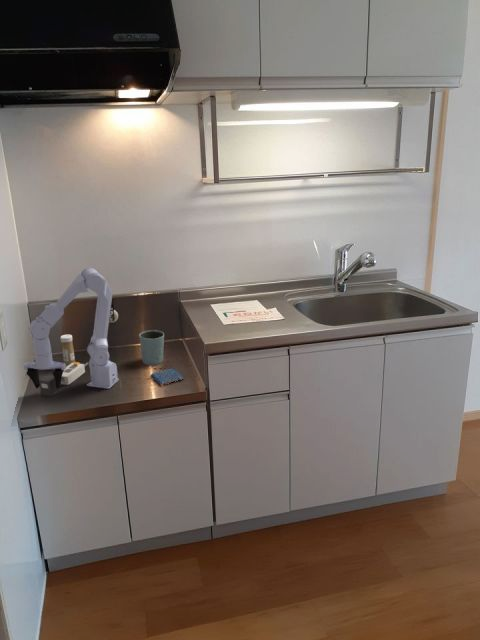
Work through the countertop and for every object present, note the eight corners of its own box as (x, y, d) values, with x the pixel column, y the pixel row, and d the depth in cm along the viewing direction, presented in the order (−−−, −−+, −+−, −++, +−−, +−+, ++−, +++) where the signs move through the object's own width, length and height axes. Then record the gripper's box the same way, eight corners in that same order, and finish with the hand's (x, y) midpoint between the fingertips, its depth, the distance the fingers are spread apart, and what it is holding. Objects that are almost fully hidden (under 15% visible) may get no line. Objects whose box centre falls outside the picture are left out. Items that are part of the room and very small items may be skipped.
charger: (61, 388, 192) (59, 374, 190) (50, 396, 186) (48, 382, 184) (51, 387, 193) (49, 373, 191) (41, 395, 187) (38, 380, 185)
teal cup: (138, 358, 218) (136, 332, 214) (161, 354, 222) (160, 328, 218) (144, 367, 209) (142, 340, 205) (168, 363, 213) (167, 336, 209)
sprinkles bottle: (77, 367, 210) (73, 336, 206) (66, 369, 208) (61, 339, 203) (73, 363, 214) (70, 333, 209) (62, 365, 212) (58, 335, 207)
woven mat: (185, 381, 199) (185, 376, 198) (160, 388, 193) (160, 383, 193) (174, 371, 207) (174, 366, 206) (149, 377, 202) (149, 373, 201)
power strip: (94, 364, 212) (93, 355, 211) (68, 384, 195) (67, 375, 194) (82, 363, 214) (81, 354, 212) (55, 383, 197) (54, 373, 195)
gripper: (67, 348, 186) (71, 382, 191) (27, 348, 187) (33, 381, 192) (59, 356, 180) (64, 391, 184) (19, 356, 180) (25, 390, 185)
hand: (48, 387), depth 188 cm, fingers open, 7 cm apart
